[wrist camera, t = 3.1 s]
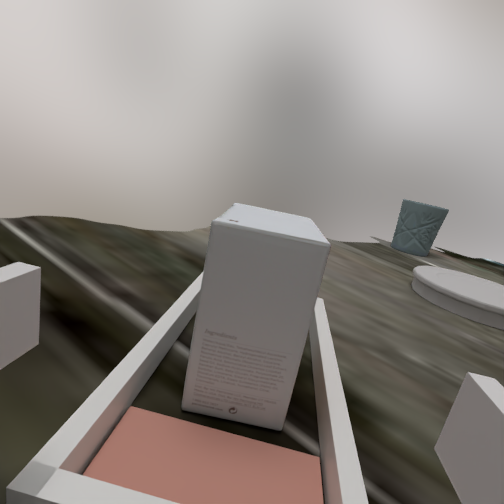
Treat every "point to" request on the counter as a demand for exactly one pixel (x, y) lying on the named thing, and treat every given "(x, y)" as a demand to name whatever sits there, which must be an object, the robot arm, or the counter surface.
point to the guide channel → (128, 387)
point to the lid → (461, 294)
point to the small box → (253, 314)
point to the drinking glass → (417, 227)
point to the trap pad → (203, 464)
